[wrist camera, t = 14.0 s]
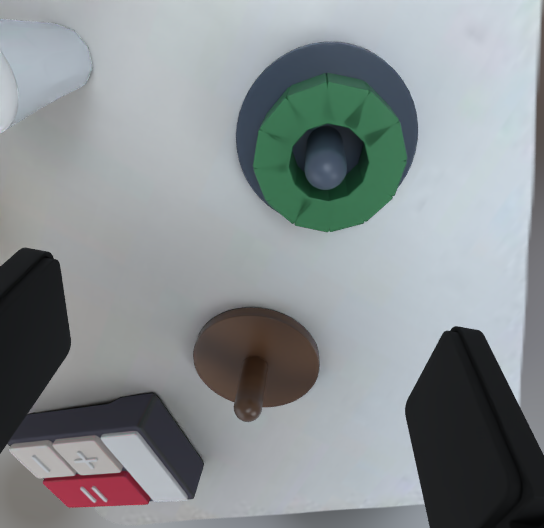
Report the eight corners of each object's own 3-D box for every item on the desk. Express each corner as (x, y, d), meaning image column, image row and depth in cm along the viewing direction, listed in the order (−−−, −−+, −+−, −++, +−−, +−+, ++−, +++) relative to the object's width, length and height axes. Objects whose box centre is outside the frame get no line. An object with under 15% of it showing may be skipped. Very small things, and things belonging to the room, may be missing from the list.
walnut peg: (201, 295, 31) (178, 352, 26) (333, 322, 31) (336, 384, 26) (191, 385, 36) (170, 447, 31) (303, 408, 36) (301, 473, 31)
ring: (274, 61, 21) (268, 68, 19) (416, 91, 21) (429, 102, 19) (252, 194, 25) (244, 215, 23) (371, 219, 25) (377, 243, 23)
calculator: (-3, 448, 38) (135, 434, 33) (27, 409, 41) (155, 391, 37) (65, 512, 43) (193, 508, 38) (87, 473, 46) (205, 464, 42)
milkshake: (41, 114, 25) (-102, 171, 16) (11, 9, 22) (-181, 12, 13) (115, 115, 24) (7, 175, 16) (94, 8, 22) (-51, 11, 13)
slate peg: (253, 22, 21) (232, 28, 16) (443, 64, 21) (482, 82, 16) (228, 200, 27) (207, 246, 21) (381, 232, 27) (395, 285, 22)
